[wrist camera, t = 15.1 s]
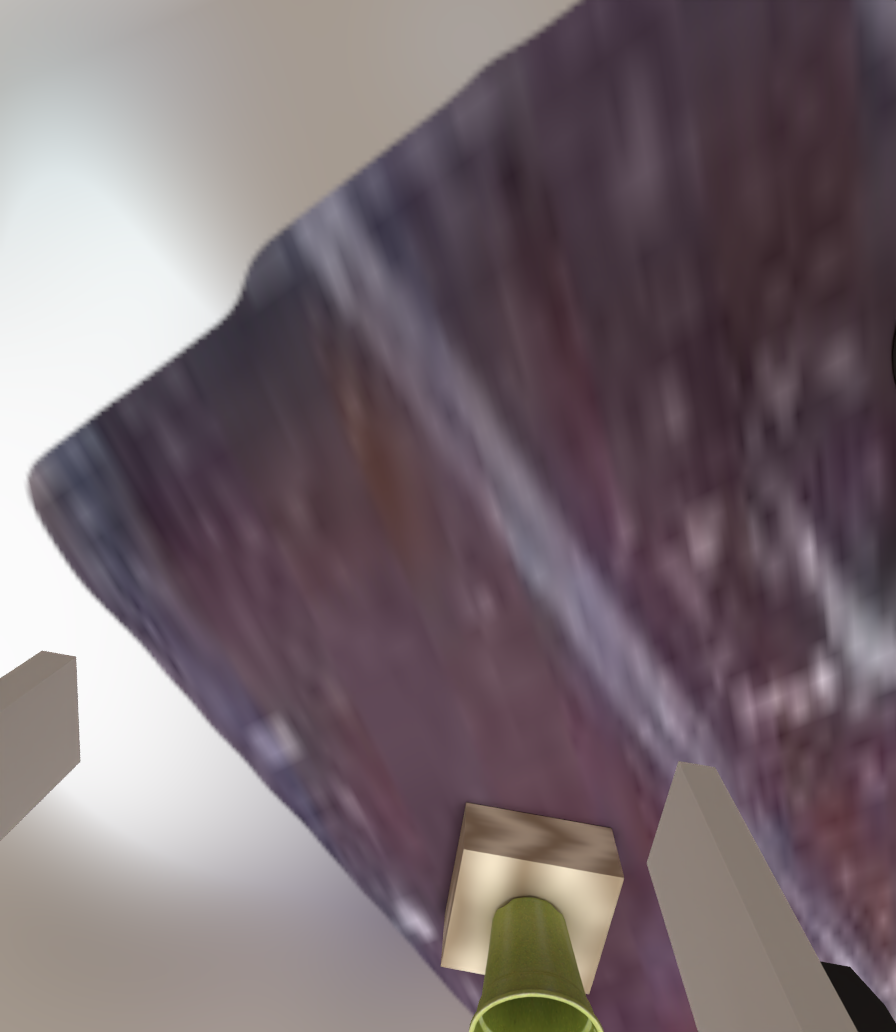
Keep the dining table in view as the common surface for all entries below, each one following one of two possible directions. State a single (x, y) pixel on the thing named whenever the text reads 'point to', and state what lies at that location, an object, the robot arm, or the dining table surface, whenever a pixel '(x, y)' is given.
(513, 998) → the plant pot
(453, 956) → the ash block
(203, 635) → the dining table surface
